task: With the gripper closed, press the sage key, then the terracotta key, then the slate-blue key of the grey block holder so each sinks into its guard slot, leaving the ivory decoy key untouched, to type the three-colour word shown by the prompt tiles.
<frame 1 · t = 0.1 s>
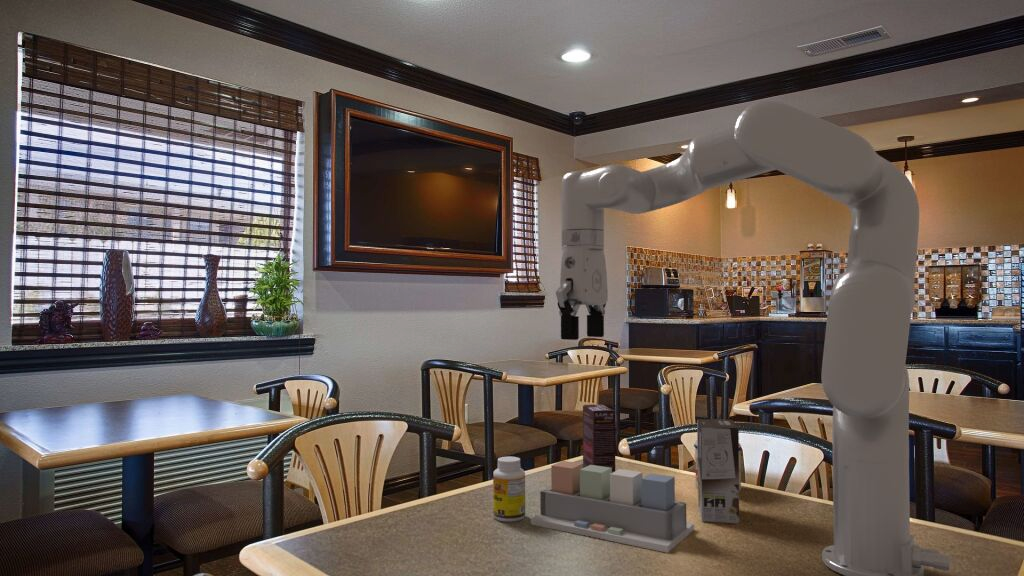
hand: (583, 338, 121), 31 cm above the table, fingers open, 9 cm apart
grey block holder: (611, 527, 113), on the table
key X: (626, 488, 111), point 7 cm above the table, slide at 0.0 cm
coffee box: (718, 516, 119), on the table
key A: (567, 479, 117), point 7 cm above the table, slide at 0.0 cm
key T: (658, 493, 108), point 7 cm above the table, slide at 0.0 cm
supplement box: (599, 486, 138), on the table
supplement bottle: (509, 519, 118), on the table
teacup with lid: (720, 492, 134), on the table
key E: (596, 483, 114), point 7 cm above the table, slide at 0.0 cm
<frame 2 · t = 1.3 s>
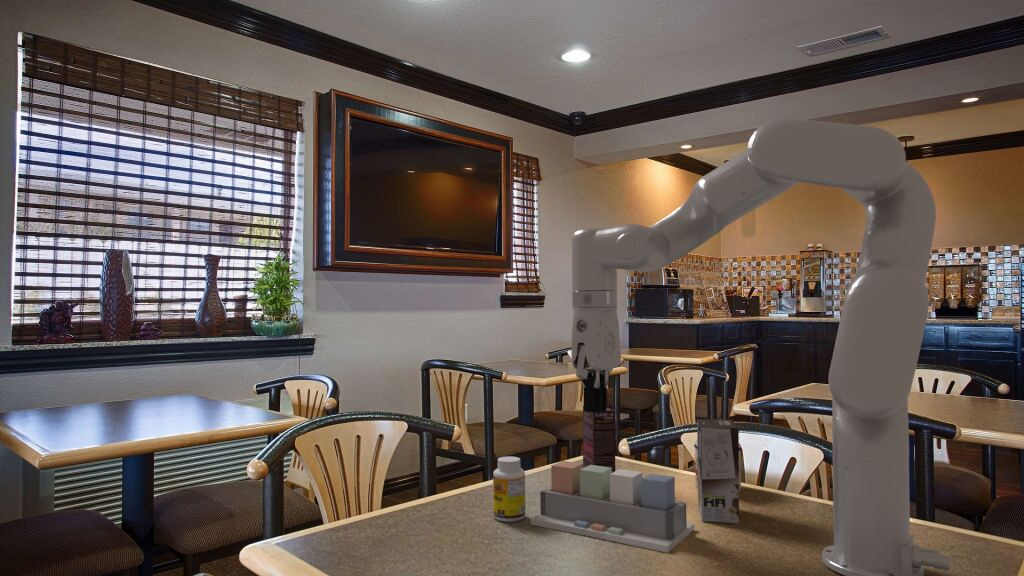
hand: (595, 410, 115), 19 cm above the table, fingers closed
nothing on the table moved.
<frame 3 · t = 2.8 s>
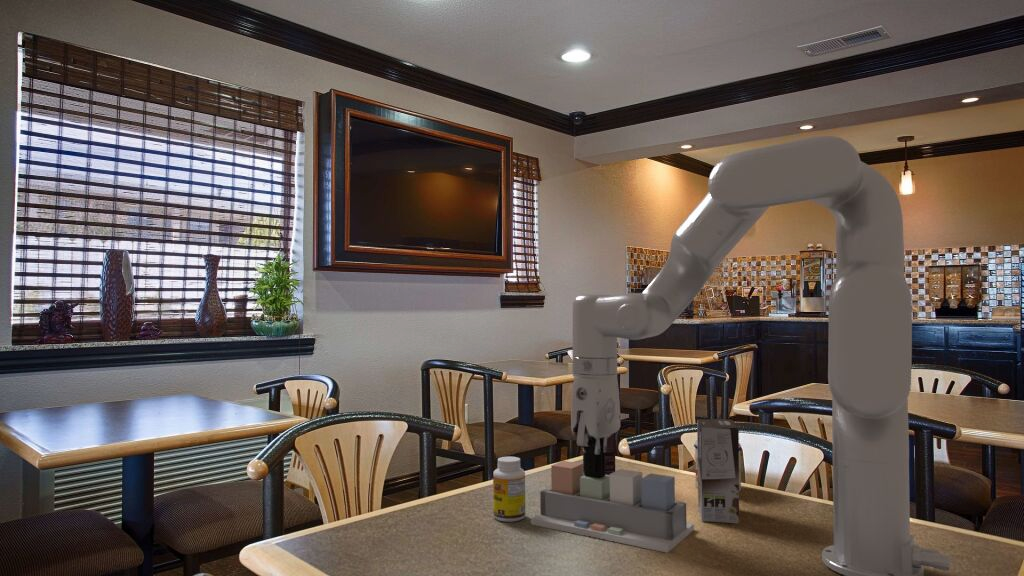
hand: (594, 476, 115), 8 cm above the table, fingers closed
key E: (596, 491, 114), point 5 cm above the table, slide at 1.3 cm, touching gripper
everything else where it was.
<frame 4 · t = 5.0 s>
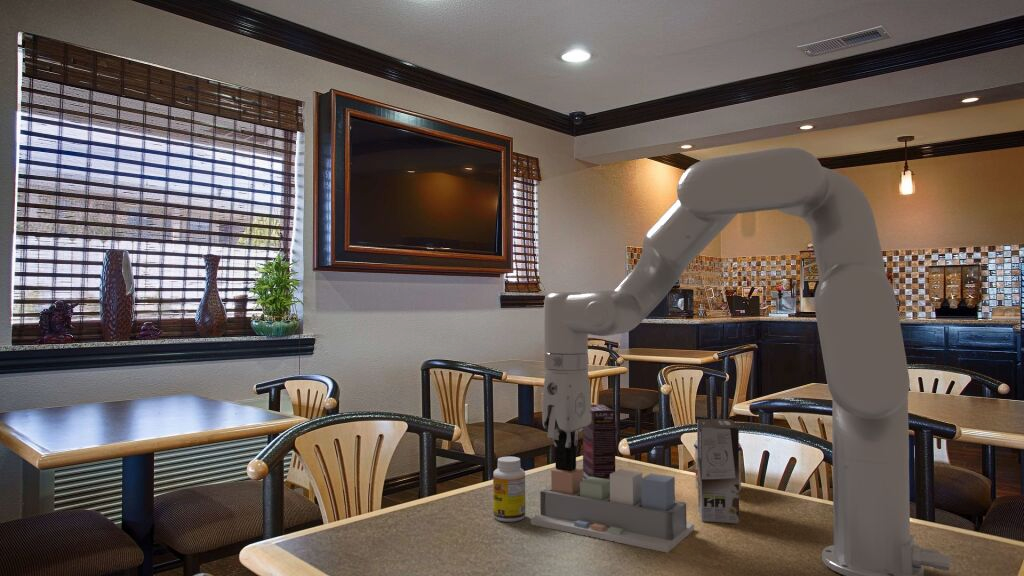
hand: (565, 468, 118), 9 cm above the table, fingers closed
key A: (567, 483, 117), point 6 cm above the table, slide at 0.9 cm, touching gripper
key E: (596, 495, 114), point 5 cm above the table, slide at 2.0 cm
everything else where it was.
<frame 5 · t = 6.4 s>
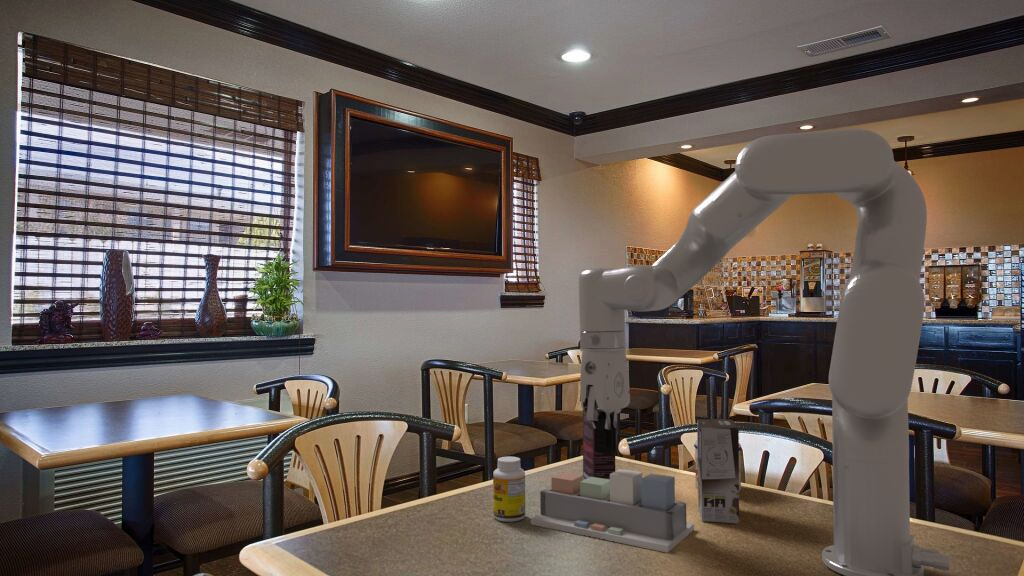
hand: (605, 451, 114), 12 cm above the table, fingers closed
key A: (567, 490, 117), point 5 cm above the table, slide at 2.0 cm
everything else where it was.
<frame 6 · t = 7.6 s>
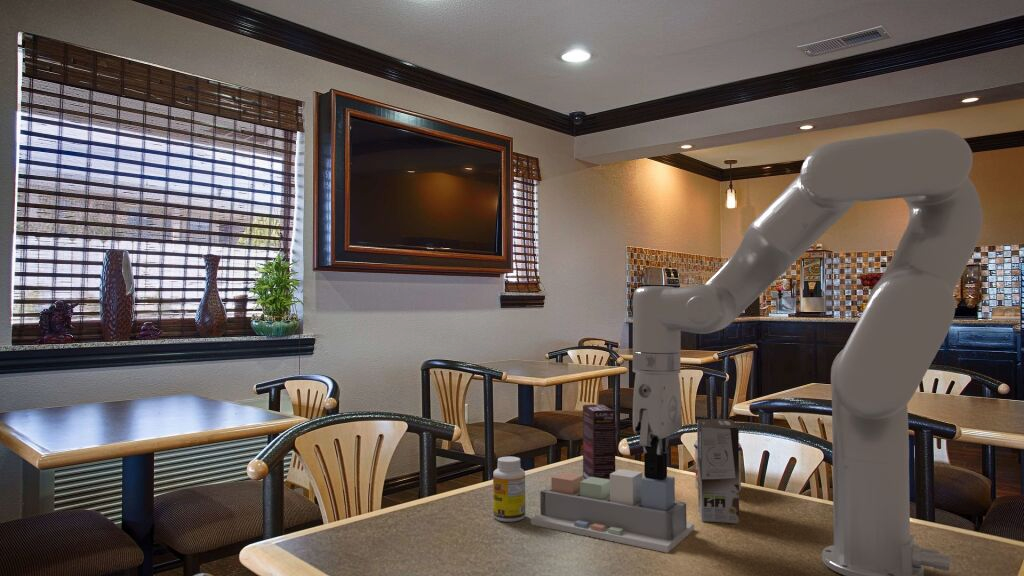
hand: (655, 477, 109), 9 cm above the table, fingers closed
key T: (658, 493, 108), point 7 cm above the table, slide at 0.1 cm, touching gripper
everything else where it was.
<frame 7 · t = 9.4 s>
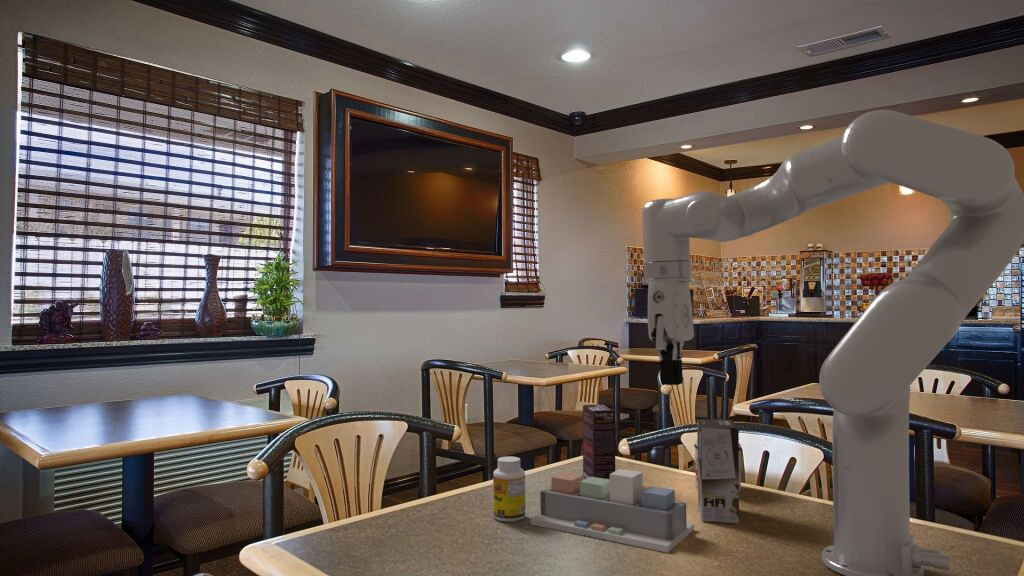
hand: (671, 384, 113), 24 cm above the table, fingers closed
key T: (658, 506, 108), point 5 cm above the table, slide at 2.1 cm
everything else where it was.
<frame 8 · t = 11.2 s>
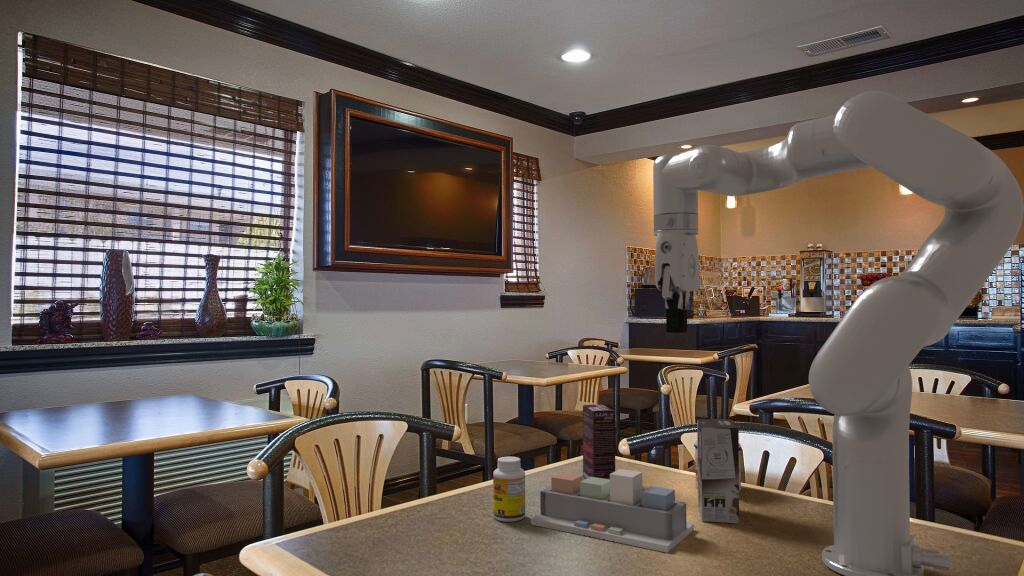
hand: (676, 332, 117), 32 cm above the table, fingers closed
nothing on the table moved.
at the end: key E slide at 2.0 cm; key A slide at 2.0 cm; key T slide at 2.1 cm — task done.
